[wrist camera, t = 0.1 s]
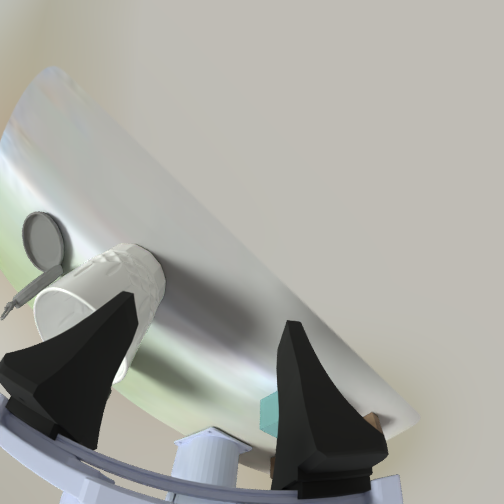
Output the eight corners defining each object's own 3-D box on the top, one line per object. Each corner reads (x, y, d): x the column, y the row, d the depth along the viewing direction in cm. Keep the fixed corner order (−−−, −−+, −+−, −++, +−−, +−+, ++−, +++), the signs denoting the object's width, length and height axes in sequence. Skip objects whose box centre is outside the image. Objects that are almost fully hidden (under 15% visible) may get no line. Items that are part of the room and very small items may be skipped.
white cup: (120, 218, 22) (44, 262, 12) (189, 274, 23) (147, 350, 14) (88, 278, 24) (27, 333, 15) (147, 327, 25) (106, 399, 16)
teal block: (297, 421, 30) (299, 448, 26) (260, 398, 29) (259, 429, 24) (335, 400, 29) (341, 429, 24) (301, 375, 27) (305, 407, 23)
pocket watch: (32, 199, 21) (-38, 227, 12) (85, 237, 22) (13, 283, 13) (23, 260, 24) (-32, 298, 14) (71, 298, 25) (18, 351, 16)
